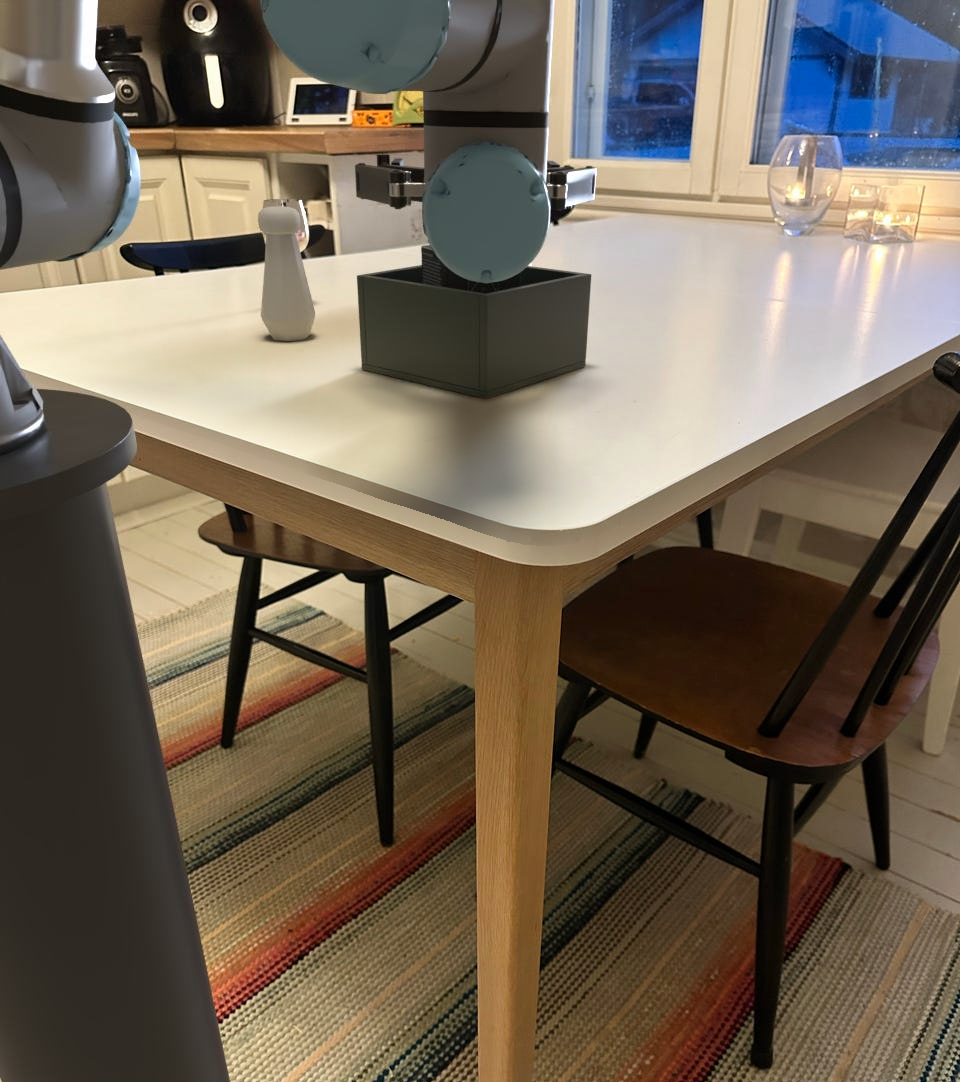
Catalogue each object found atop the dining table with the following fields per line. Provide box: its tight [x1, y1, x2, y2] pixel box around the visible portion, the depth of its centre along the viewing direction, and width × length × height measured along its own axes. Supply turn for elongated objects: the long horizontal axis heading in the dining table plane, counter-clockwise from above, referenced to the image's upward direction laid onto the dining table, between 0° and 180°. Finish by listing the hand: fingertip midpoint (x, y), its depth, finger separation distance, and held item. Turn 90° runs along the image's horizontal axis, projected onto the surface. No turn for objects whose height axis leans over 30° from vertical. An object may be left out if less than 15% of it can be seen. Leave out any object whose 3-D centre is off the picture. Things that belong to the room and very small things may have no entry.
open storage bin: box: [356, 264, 592, 400], centre depth 88 cm, size 16×16×9 cm
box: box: [420, 244, 520, 294], centre depth 87 cm, size 8×6×11 cm
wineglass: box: [261, 198, 310, 253], centre depth 115 cm, size 6×6×12 cm
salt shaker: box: [257, 206, 316, 342], centre depth 98 cm, size 6×6×13 cm
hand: (473, 176), depth 84 cm, fingers open, 13 cm apart
